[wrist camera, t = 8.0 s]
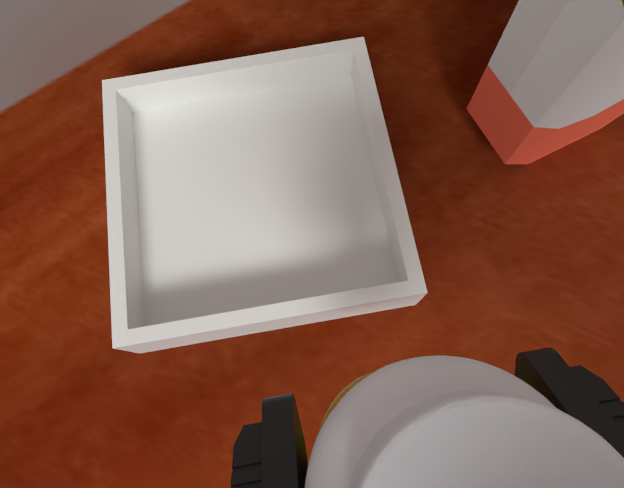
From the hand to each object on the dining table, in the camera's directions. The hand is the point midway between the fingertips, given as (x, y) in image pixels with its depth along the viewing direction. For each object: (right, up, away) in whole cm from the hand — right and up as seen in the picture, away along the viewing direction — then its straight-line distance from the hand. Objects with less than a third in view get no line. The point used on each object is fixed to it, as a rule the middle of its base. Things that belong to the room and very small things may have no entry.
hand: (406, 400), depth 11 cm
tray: (-6, +6, +18) cm, 20 cm away
